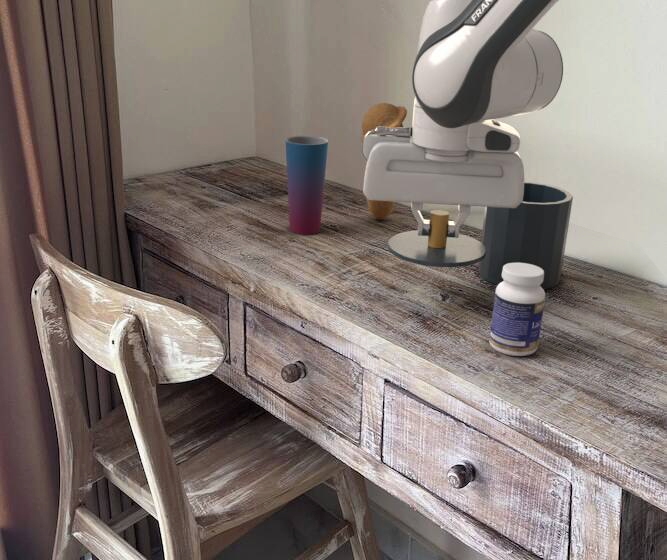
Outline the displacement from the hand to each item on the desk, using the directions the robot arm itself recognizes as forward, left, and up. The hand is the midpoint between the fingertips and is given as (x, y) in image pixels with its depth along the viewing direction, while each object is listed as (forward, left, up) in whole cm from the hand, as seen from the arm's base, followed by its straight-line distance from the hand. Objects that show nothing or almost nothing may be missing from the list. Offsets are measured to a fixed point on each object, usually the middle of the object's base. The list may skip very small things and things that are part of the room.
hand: (438, 235), depth 106 cm
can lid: (0, 0, -2) cm, 2 cm away
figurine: (+34, +8, -9) cm, 36 cm away
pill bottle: (-13, -9, -9) cm, 18 cm away
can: (+11, -13, -9) cm, 19 cm away
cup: (+26, +20, -9) cm, 34 cm away
